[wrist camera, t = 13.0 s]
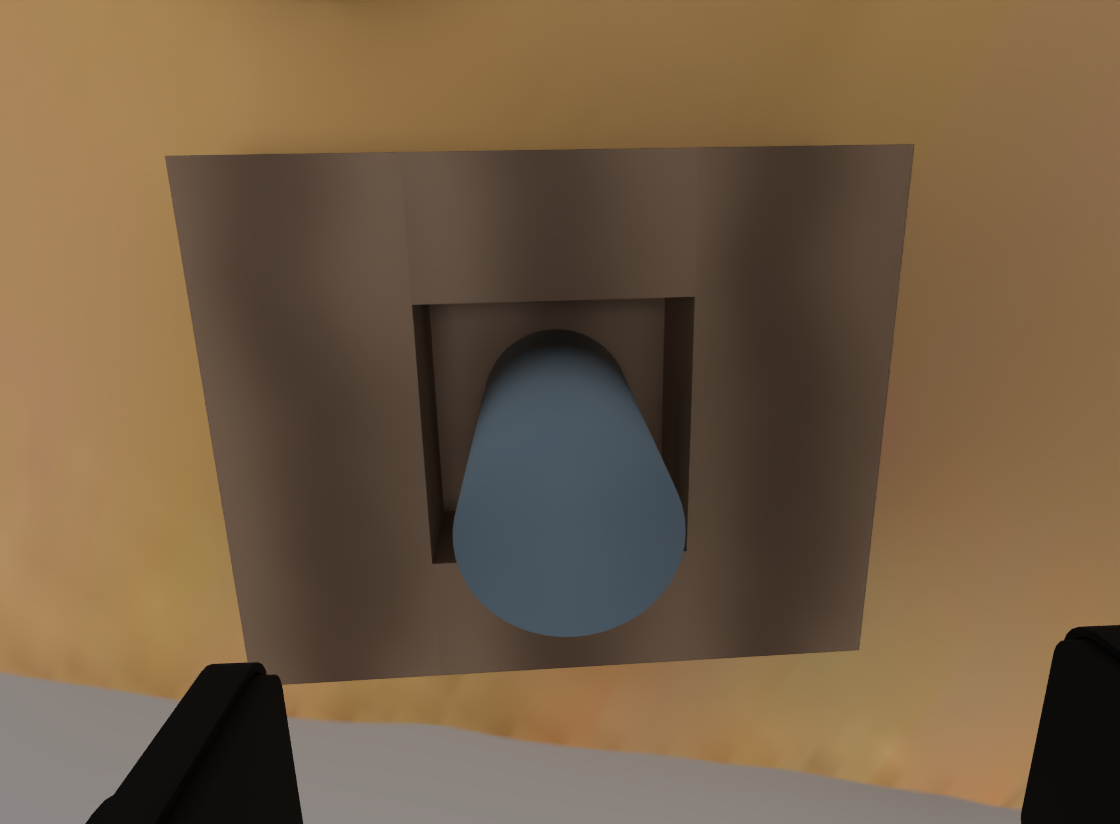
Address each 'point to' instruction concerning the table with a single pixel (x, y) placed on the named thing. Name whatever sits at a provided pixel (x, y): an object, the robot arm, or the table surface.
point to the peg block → (495, 324)
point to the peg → (565, 493)
